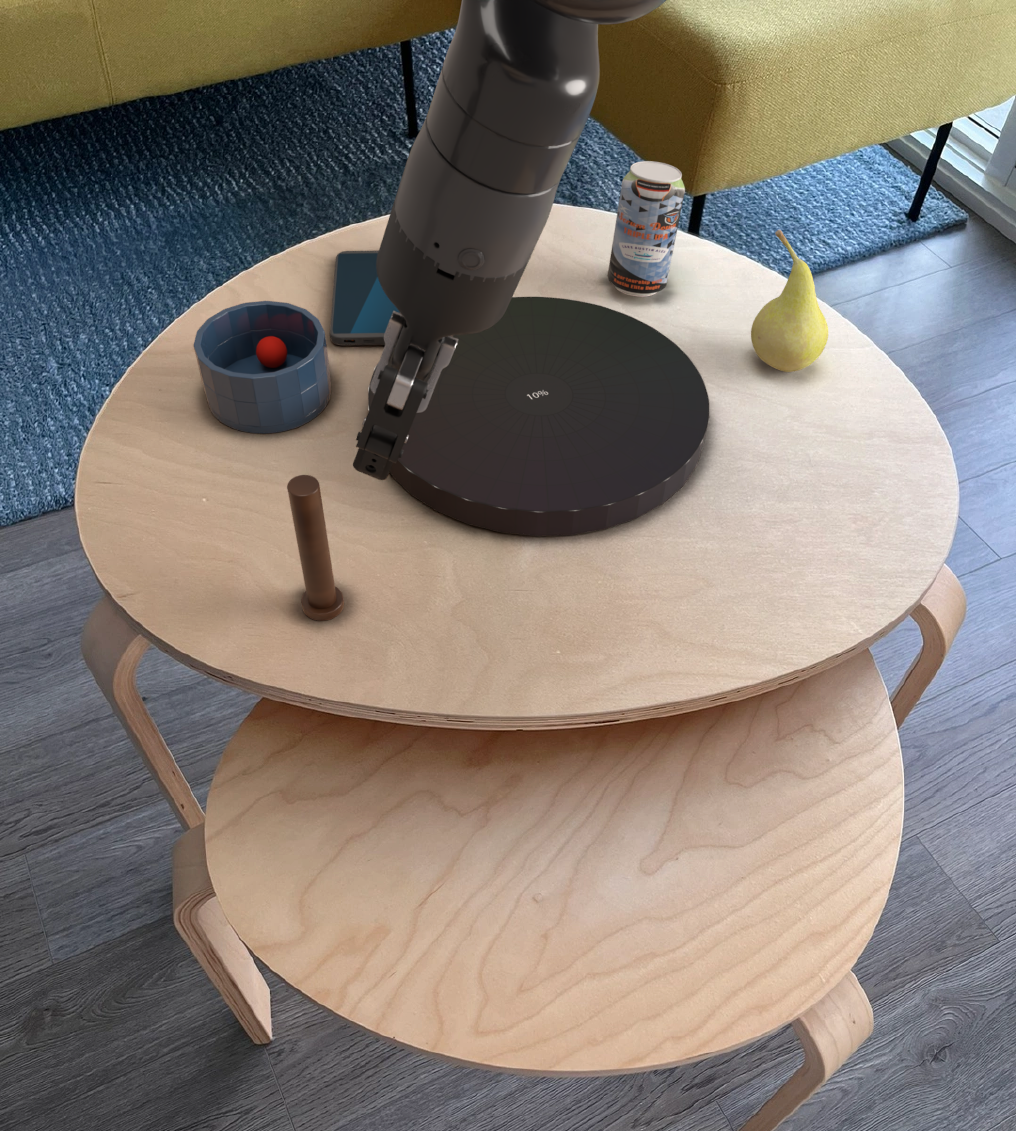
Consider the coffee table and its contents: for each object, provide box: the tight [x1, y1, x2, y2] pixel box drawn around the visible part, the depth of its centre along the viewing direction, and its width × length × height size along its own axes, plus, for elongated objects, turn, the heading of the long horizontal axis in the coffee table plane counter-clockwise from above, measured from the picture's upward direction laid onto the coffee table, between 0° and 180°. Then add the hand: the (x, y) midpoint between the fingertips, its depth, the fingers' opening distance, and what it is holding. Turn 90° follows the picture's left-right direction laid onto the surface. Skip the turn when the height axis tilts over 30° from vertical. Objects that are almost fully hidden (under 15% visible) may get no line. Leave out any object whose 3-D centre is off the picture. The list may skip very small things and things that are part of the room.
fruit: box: [750, 229, 829, 373], centre depth 102 cm, size 7×8×12 cm
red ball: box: [256, 336, 287, 368], centre depth 103 cm, size 3×3×3 cm
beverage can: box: [607, 160, 686, 298], centre depth 110 cm, size 6×7×12 cm
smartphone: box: [329, 249, 400, 347], centre depth 111 cm, size 8×15×1 cm, turn 3°
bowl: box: [193, 300, 332, 435], centre depth 100 cm, size 11×11×6 cm
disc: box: [367, 295, 710, 537], centre depth 100 cm, size 30×30×3 cm
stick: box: [286, 474, 345, 622], centre depth 82 cm, size 3×3×12 cm
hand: (388, 423), depth 71 cm, fingers open, 8 cm apart
